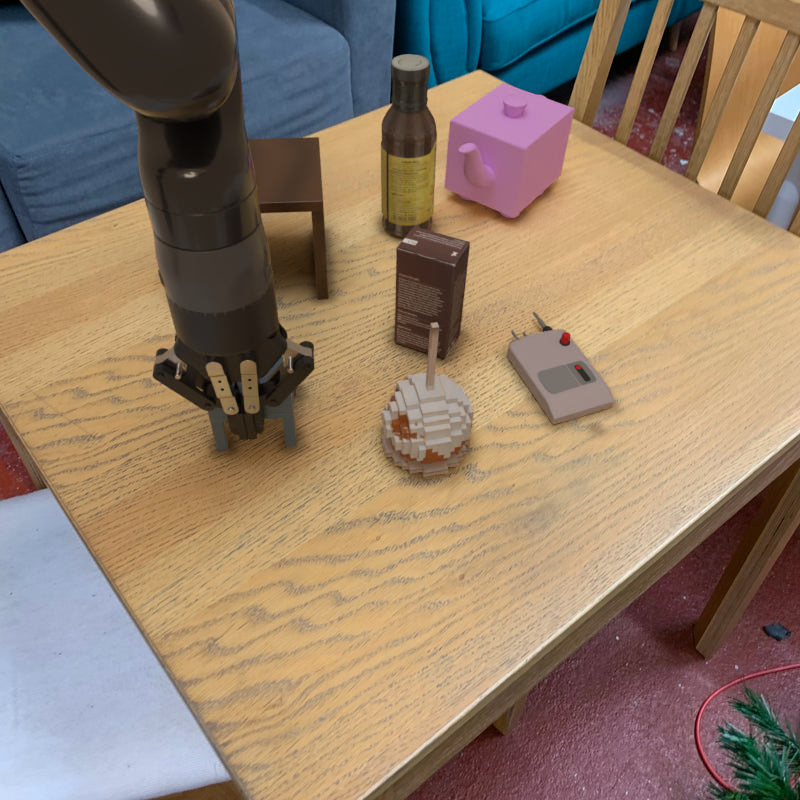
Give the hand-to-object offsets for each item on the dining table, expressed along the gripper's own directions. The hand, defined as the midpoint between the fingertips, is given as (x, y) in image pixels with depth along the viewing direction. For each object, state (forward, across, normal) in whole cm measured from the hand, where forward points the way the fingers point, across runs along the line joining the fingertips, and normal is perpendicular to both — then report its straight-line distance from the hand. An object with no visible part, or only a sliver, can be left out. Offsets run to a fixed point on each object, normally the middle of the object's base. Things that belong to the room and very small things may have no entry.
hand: (248, 432), depth 66 cm
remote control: (+4, -30, -9) cm, 31 cm away
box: (+4, -18, -14) cm, 23 cm away
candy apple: (+4, -16, 0) cm, 16 cm away
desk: (+4, +1, -27) cm, 28 cm away
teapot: (+4, -29, -40) cm, 49 cm away
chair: (+4, 0, -5) cm, 6 cm away
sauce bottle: (+4, -17, -34) cm, 39 cm away
